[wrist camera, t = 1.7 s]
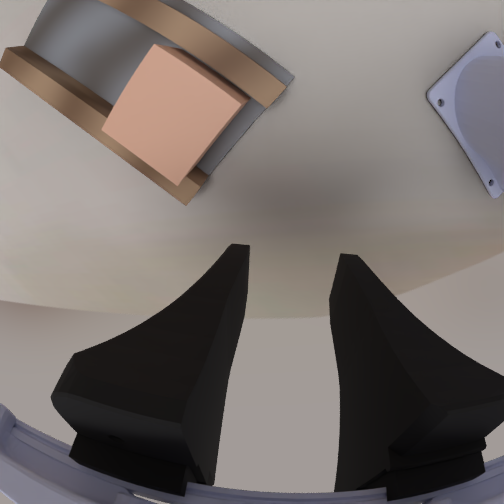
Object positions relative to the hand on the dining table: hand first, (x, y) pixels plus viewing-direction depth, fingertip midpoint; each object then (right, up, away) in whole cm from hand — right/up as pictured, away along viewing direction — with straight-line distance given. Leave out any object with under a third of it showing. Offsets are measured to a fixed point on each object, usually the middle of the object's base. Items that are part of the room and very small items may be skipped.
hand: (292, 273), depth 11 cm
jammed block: (-5, +9, +6) cm, 12 cm away
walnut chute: (-9, +13, +4) cm, 16 cm away
